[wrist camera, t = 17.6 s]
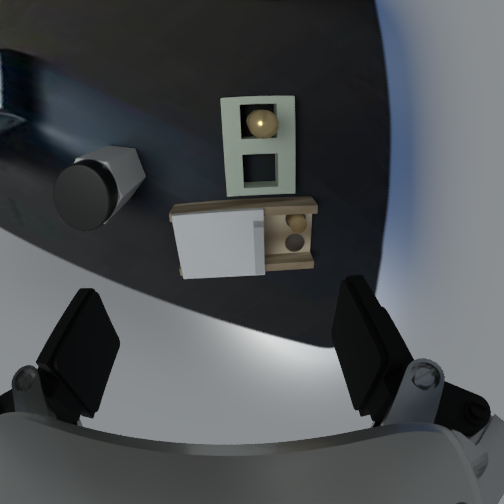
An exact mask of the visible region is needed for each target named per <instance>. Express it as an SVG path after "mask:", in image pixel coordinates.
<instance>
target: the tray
mask: <svg viewBox="0 0 504 504" xmlns="http://www.w3.org/2000/svg"><path fill="white" fill-rule="evenodd" d="M246 208H263V211H264V252H265V271H276V270H291V269H306V268H313V267H314V260H313V258H312V256H311V253H310V243H311V227H312V214H317V212H318V205H317V203H316V202H315V201H314V199H313V198H312V197H311V196H305V197H275V198H253V199H235V200H220V201H206V202H194V203H182V204H175V205H174V206H173V208H172V210H171V211H170V213H169V217H170V222H173V221H172V214H176V213H188V212H201V211H215V210H230V209H246ZM180 274H181V276H182V275H183V274H182V269H181V265H180Z"/></svg>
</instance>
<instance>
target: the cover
mask: <svg viewBox="0 0 504 504" xmlns="http://www.w3.org/2000/svg"><path fill="white" fill-rule="evenodd" d="M172 221H173V227H174V233H175V238H176V244H177V249H178V254H179V259H180V264H181V269H182V274H183V279H192V278H213V277H232V276H250V275H265V252H264V211H263V208H246V209H230V210H215V211H201V212H188V213H176V214H172Z"/></svg>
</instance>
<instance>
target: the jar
mask: <svg viewBox="0 0 504 504" xmlns="http://www.w3.org/2000/svg"><path fill="white" fill-rule="evenodd" d="M145 178H146V175H145V173H144V170H143V167H142V165H141V162H140V160H139V157H138V154H137V152H136V149H134V148H127V147H119V146H110V145H108V146H105V147H103V148H100V149H98V150H95V151H93V152H90V153H88V154H86V155H83V156H81V157H79V158H77V159H76V160H75V162H74V164H71V165H69V166H67V167H66V168H65V169H63V170H62V171H61V172H60V174H59V175H58V177H57V179H56V181H55V185H54V193H53V195H54V203H55V206H56V209H57V211H58V213H59V215H60V216H61V218H62V219H63V220H64V221H65V223H67V224H68V225H69V226H70V227H72V228H74V229H76V230H79V231H92V230H95V229H97V228H99V227H100V226H101V225H103V224H105V223H106V222H107V221H108V220H109V219H110V218H111V217H112V216H113V215H114V214H115V213H116V212H117V211H118V210H119V209H120V208H121V207H122V206H123V205H124V204H125V203H126V202H127V201H128V200H129V199H130V198H131V197H132V195H133V194H134V193H135V191H136V190H137V188H138V187H139V186H140V184H141V183H142V182H143V180H144V179H145Z"/></svg>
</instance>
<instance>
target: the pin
mask: <svg viewBox="0 0 504 504" xmlns="http://www.w3.org/2000/svg"><path fill="white" fill-rule="evenodd" d="M246 123H247V126H248V128H249V130H250V132H251V133H252V134H253V135H254V136H255V137H257V138H260V139H267V138H270V137H272V136H273V135H275V133H276V132H277V130H278V127H279V122H278V119H277V117H276V115H275V114H273V113H272V112H270V111H268V110H253V111H251V112H250V113H249V114H248V115H247V117H246Z"/></svg>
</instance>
